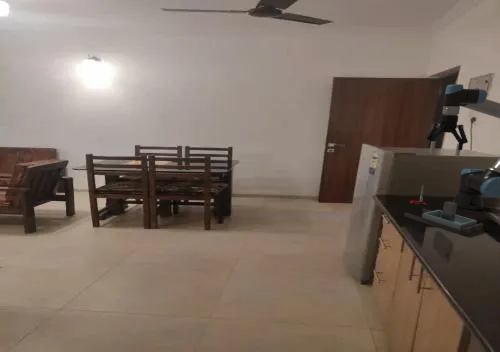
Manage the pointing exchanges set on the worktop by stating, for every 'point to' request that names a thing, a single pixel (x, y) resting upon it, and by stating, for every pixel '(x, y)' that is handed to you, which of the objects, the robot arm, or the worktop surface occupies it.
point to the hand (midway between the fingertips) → (444, 154)
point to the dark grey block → (449, 211)
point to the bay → (448, 228)
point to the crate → (458, 223)
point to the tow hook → (420, 198)
